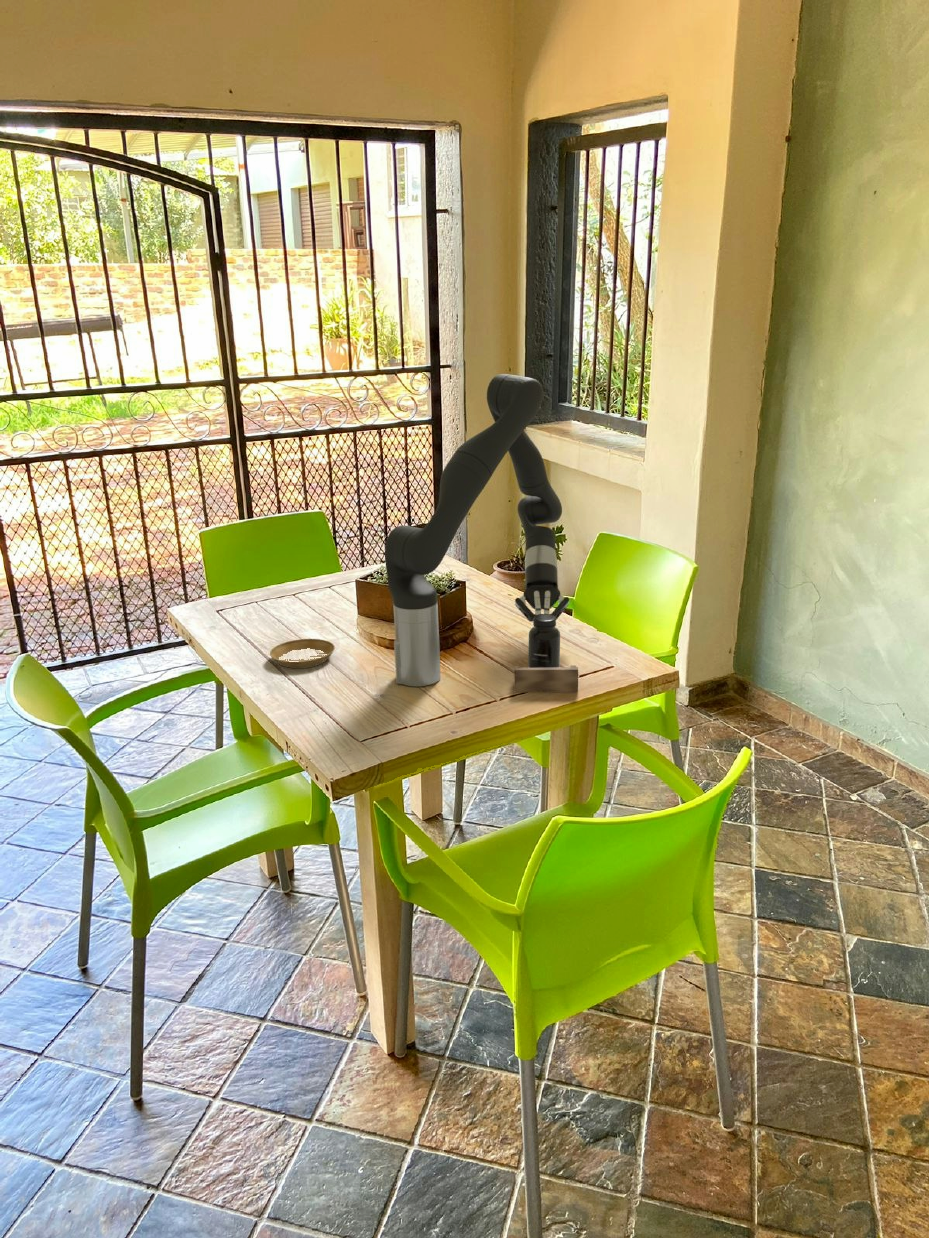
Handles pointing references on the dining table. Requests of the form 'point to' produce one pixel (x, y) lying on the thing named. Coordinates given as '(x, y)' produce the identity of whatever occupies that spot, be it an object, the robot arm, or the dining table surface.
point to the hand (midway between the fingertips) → (543, 636)
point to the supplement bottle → (544, 642)
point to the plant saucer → (298, 645)
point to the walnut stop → (546, 679)
